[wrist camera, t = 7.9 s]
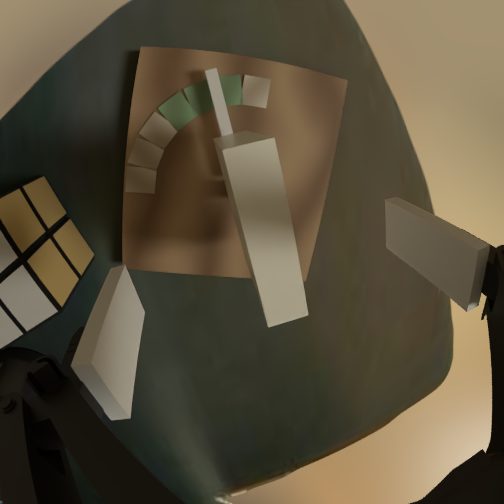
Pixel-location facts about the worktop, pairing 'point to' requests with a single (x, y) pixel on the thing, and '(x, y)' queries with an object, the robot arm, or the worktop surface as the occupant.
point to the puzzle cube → (36, 259)
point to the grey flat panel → (260, 213)
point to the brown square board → (206, 159)
